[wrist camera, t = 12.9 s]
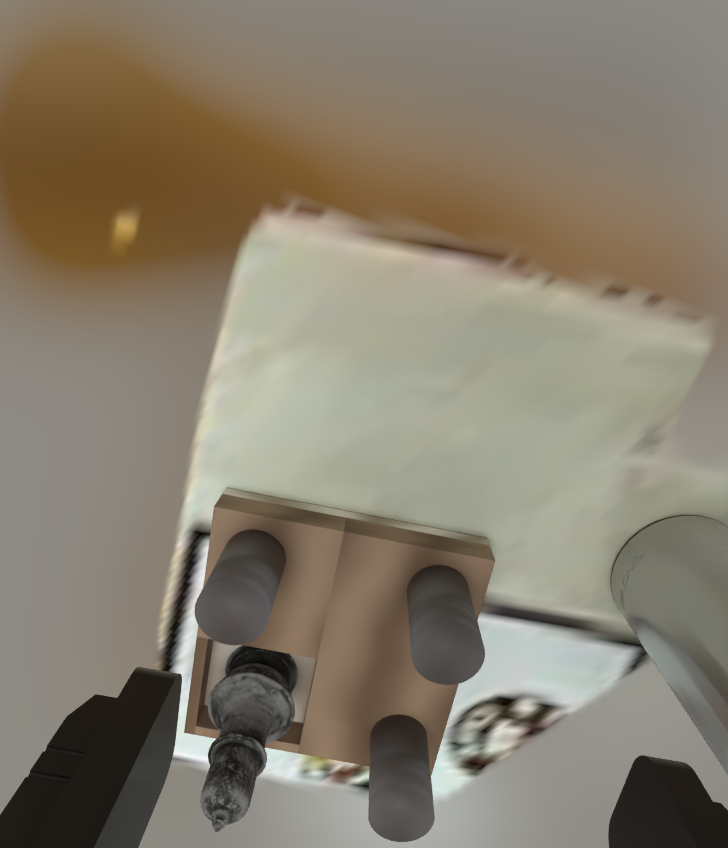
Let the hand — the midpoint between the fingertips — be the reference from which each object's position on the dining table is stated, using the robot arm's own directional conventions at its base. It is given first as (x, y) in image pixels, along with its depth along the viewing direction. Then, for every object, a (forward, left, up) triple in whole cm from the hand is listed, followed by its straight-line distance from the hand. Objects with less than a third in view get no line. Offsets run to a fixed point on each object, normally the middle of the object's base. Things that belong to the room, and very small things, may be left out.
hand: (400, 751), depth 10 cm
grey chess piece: (+5, +22, -27) cm, 35 cm away
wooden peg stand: (0, +18, -28) cm, 33 cm away
